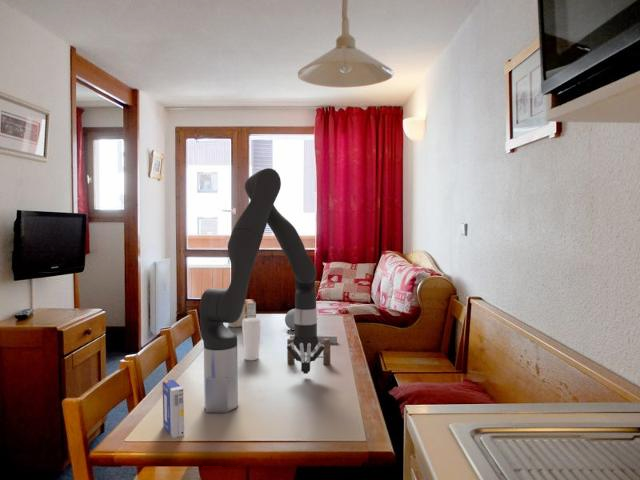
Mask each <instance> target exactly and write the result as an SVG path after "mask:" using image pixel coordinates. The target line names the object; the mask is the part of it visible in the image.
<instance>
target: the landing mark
mask: <svg viewBox="0 0 640 480" xmlns="http://www.w3.org/2000/svg"><path fill="white" fill-rule="evenodd" d="M295 350H296V352H297V353H298V354H299V356H301V354H300V351H299V350H298V349H297V348H296V346H295ZM316 351H317V346H316V347H315V348H314V350H313V351H312V352H311V356H313V355H314V353H315V352H316ZM305 358H307V352H305ZM317 358H323V351H322V352H321V353H320V355H319V356H318V357H317Z"/></svg>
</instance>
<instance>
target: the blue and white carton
mask: <svg viewBox="0 0 640 480" xmlns="http://www.w3.org/2000/svg"><path fill="white" fill-rule="evenodd" d="M184 401H185V399H184V387H183V386H182V385H180V384H179V383H178V382H177V381H176V380H175V379H170V380H164V381H162V420H163V421H162V425H163V427H164V429H165V430H166V431H167V433H168V434H169V435H170V436H171V437H172V439H176V438H180V437H183V436H185V403H184Z"/></svg>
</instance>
